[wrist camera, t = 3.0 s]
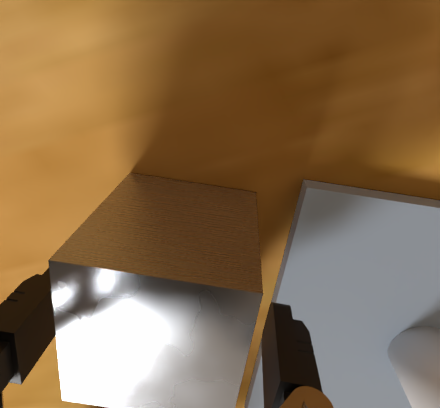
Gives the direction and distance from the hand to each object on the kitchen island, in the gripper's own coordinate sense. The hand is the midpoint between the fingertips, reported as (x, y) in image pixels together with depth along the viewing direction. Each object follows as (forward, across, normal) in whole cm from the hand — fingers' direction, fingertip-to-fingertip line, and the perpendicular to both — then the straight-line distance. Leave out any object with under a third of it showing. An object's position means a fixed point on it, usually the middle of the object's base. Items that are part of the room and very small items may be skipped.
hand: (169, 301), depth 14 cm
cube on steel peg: (+4, 0, +1) cm, 4 cm away
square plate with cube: (+4, -13, +3) cm, 14 cm away
